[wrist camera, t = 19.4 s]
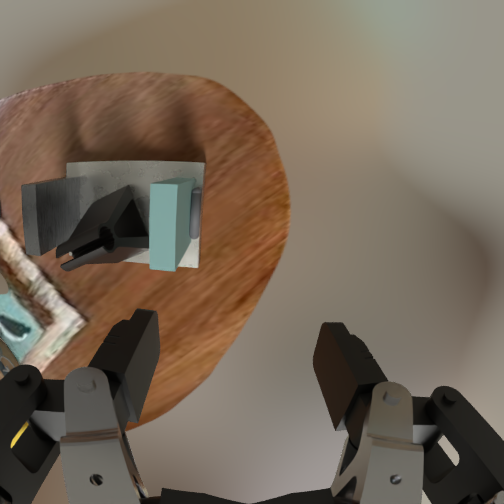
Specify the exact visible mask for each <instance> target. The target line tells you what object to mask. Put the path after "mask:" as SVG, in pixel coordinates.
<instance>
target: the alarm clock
mask: <svg viewBox="0 0 504 504" xmlns="http://www.w3.org/2000/svg"><path fill="white" fill-rule="evenodd" d="M16 366H19V364H18V362H17V360H16V358H15V357H14V355H13V354H12V352H11V351H10V350H9V348H8V347H7V346H6V344H5V343H4V342H3V341H2V340H1V339H0V380H1V379H2V378H3V377H4V376H5V375H6V374H7V373H8V372H9V371H10V370H11V369H13V368H14V367H16Z"/></svg>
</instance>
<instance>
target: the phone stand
mask: <svg viewBox="0 0 504 504" xmlns="http://www.w3.org/2000/svg"><path fill="white" fill-rule="evenodd" d="M147 251H149V234H148V231H147V229H146V227H145V224H144V222H143V219H142V218H141V214H140V212H139V209H138V206H137V204H136V201H135V199H134V196H133V193H132V190H131V188H130V186H129V185H127V186H125V187H123V188H120V189H118V190H116V191H114V192H112V193H110V194H108V195H106V196H104V197H102V198H100V199H98V200H97V201H95V202H93V203H92V204H91V205H90V207H89V208H88V210H87V211H86V213H85V214H84V216H83V217H82V219H81V220H80V222H79V223H78V225H77V227H76V228H75V230H74V231H73V233H72V235H71V236H70V238H69V239H68V240H67V241H65V242H63V243H62V244H60V245H58V247H57V249H56V258H59V257H61V256H63V255H65V254H67V253H69V252H72V257H73V258H74V259H72V260H70V261H68V262H66V263H63V264H61V266H60V267H61V268H62V269H63V270H65V271H71V270H74V269H76V268H78V267H80V266H83V265H85V264H102V263H118V262H121V261H123V260H126V259H129V258H131V257H134V256H136V255H139V254H141V253H144V252H147Z"/></svg>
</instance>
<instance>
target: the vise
mask: <svg viewBox="0 0 504 504" xmlns="http://www.w3.org/2000/svg"><path fill="white" fill-rule="evenodd" d="M205 172H206V163H199V162H178V161H93V162H73V163H67V169H66V177H63V178H57V179H51V180H45V181H40V182H34V183H29V184H24V185H22V214H23V228H24V238H25V246H26V254H29V255H37V256H41V255H43V254H45V253H46V252H48V251H50V250H52V249H53V248H55V247H57V246H58V245H60V244H62V243H63V242H65V241H67V240H68V239H69V238H70V236H71V235H72V233H73V231H74V230H75V228H76V227H77V225H78V223H79V222H80V220H81V219H82V217H83V216H84V214H85V213H86V211H87V210H88V208H89V207H90V205H91V204H92V203H93V202H95V201H97V200H98V199H100V198H102V197H104V196H106V195H108V194H110V193H112V192H114V191H116V190H118V189H120V188H123V187H125V186H127V185H129V186H130V188H131V190H132V193H133V196H134V199H135V201H136V204H137V206H138V209H139V212H140V214H141V218H142V219H143V222H144V224H145V227H146V229H147V231H148V234H149V215H150V186H151V183H155V182H159V181H163V180H167V179H171V178H193V179H195V183H194V188H196V187H198V188H200V189H201V191H202V198H201V213H200V230H199V237H198V238H197V239H191V243H190V245H189V247H188V249H187V250H186V252H185V254H184V256H183V258H182V259H181V261H180V263H179V265H178V266H182V267H193V268H198V267H199V264H200V249H201V229H202V213H203V198H204V185H205ZM69 255H71V256H72V252H69ZM123 261H128V262H138V263H149V264H150V257H149V251H147V252H144V253H141V254H139V255H136V256H134V257H131V258H129V259H126V260H123Z"/></svg>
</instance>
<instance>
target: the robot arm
mask: <svg viewBox="0 0 504 504" xmlns="http://www.w3.org/2000/svg"><path fill="white" fill-rule="evenodd" d="M0 215H1V208H0ZM159 355H160V339H159V326H158V314H157V311H153V310H145V309H136V310H135V312H134V314H133V315H132V317H131V319H130V320H122V321H120V322H119V323H117V324H116V325H114V326H113V327H112V329H111V330H110V332H109V333H108V336H106V338H105V340H104V342H103V343H102V344H101V346H100V347H99V349H98V351H97V352H96V354H95V355H94V357H93V359H92V360H91V362H90V363H89V365H88V367H81V368H77V369H75V370H73V371H72V372H70V373H69V374H68V375H67V376H66V378H65V380H50V379H43V377H42V375H41V373H40V371H39V370H38V369H37V368H36V367H34V366H32V365H19V366H16V367H14V368H13V369H11V370H10V371H9V372H8V373H7V374H6V375H5V376H4V377H3V378H2V379H1V380H0V504H31V503H32V501H33V499H34V497H35V496H36V494H37V492H38V490H39V488H40V487H41V485H42V483H43V481H44V480H45V478H46V476H47V475H48V473H49V471H50V469H51V468H52V466H53V464H54V463H55V461H56V459H57V457H58V456H59V454H60V453H61V461H62V467H63V474H64V480H65V485H66V491H67V495H68V500H69V504H246V503H241V502H236V501H231V500H227V499H223V498H219V497H215V496H212V495H208V494H205V493H195V492H186V491H179V490H171V489H166V488H162V492H161V496H157V497H149V495H148V493H147V491H146V488H145V486H144V484H143V482H142V480H141V477H140V474H139V472H138V469H137V466H136V464H135V461H134V457H133V455H132V451H131V448H130V445H129V442H128V438H127V435H126V432H125V428H126V425H127V422H128V421H130V422H135V423H138V421H139V418H140V415H141V412H142V408H143V405H144V402H145V399H146V396H147V393H148V390H149V387H150V383H151V380H152V377H153V374H154V371H155V368H156V366H157V363H158V360H159ZM313 367H314V371H315V374H316V376H317V379H318V382H319V385H320V388H321V391H322V394H323V397H324V399H325V402H326V405H327V408H328V411H329V414H330V417H331V420H332V423H333V426H334V428H335V431H340V430H347V432H348V434H349V435H348V436H347V438H346V440H345V443H344V447H343V450H342V454H341V458H340V462H339V465H338V468H337V472H336V475H335V478H334V481H333V483H332V485H331V487H330V488H328V489H321V490H315V491H307V492H299V493H291V494H287V495H284V496H281V497H277V498H273V499H269V500H266V501H261V502H257V503H252V504H421V499H422V489H423V491H424V492H425V494H426V495H427V497H428V499H429V500H430V502H431V503H432V504H504V441H503V440H502V438H501V437H500V436H499V435H498V434H497V433H496V432H495V431H494V429H493V428H492V427H491V426H490V425H489V424H488V423H487V422H486V420H485V419H484V418H483V417H482V416H481V415H480V414H479V413H478V412H477V410H475V408H474V407H473V406H472V405H471V404H470V403H469V402H468V401H467V400H466V399H465V398H464V397H463V396H462V395H461V393H460V392H458V391H457V390H456V389H454V388H451V387H448V386H440V387H437V388H436V389H435V390H434V391H433V393H432V394H431V396H430V397H414V396H411V393H410V392H409V391H408V390H407V389H406V388H405V387H404V386H402V385H401V384H398V383H395V382H389V381H388V380H387V378H386V376H385V375H384V373H383V372H382V370H381V368H380V367H379V365H378V364H377V362H376V360H375V359H373V356H372V354H371V353H370V352H369V350H368V348H367V346H366V345H365V343H364V342H363V341H362V340H361V339H359V338H358V337H356V336H355V335H350V333H349V331H348V330H347V328H346V327H345V325H344V324H343V323H341V322H325V323H323V324H322V326H321V329H320V333H319V337H318V340H317V344H316V348H315V351H314V356H313ZM26 421H27V423H28V424H29V425H28V426H27V428H26V429H25V430H24V432H23V433H22V434H21V436H20V437H19V439H18V440H17V441H16V443H15V444H14V446H13V447H12V448H11V443H12V440H13V439H14V437H15V436H16V435H17V433H18V432H19V431H20V429H21V428H22V427H23V425H24V424H25V423H26ZM443 435H445V437H446V438H447V439H448V441H449V442H450V443H451V444H452V446H453V447H454V448H455V450H456V451H457V452H458V454H459V458H460V459H459V463H458V465H457V466H455V465H454V464H453V462H452V461H451V460H450V458H449V457H448V456H447V454H446V453H445V452H444V451H443V449H442V448H441V446H440V445H439V444H438V441H439V440H440V439H441V437H442V436H443Z"/></svg>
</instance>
